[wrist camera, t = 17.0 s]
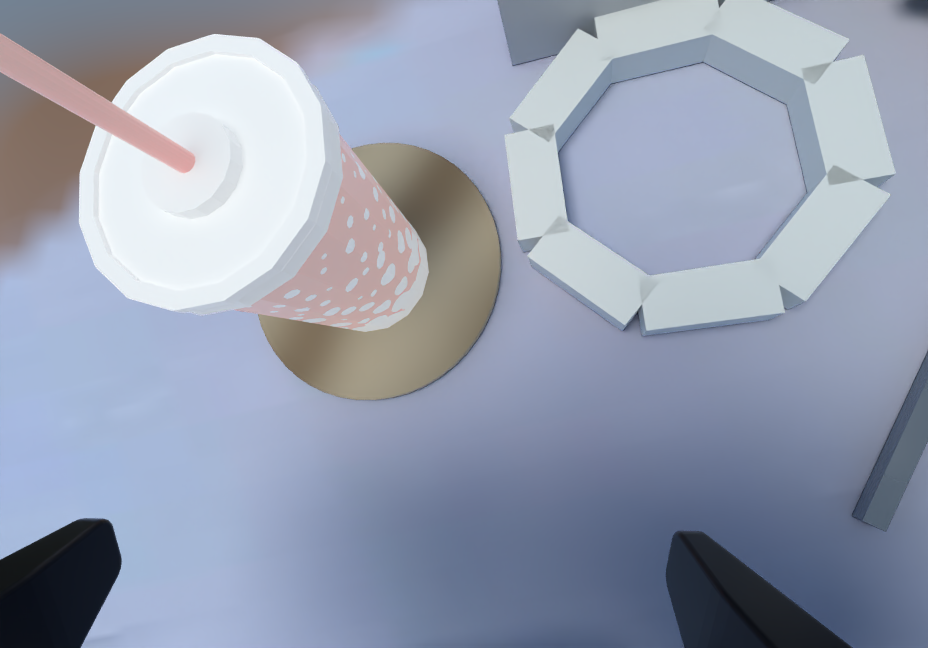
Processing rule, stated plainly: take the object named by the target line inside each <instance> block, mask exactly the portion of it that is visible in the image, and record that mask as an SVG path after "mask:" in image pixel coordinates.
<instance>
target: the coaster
mask: <svg viewBox="0 0 928 648" xmlns="http://www.w3.org/2000/svg"><path fill="white" fill-rule="evenodd" d="M352 151H353V152H354V153H355V154H356V156H357V157H358V158H359V159H360V161H361V162H362V163H363V165H364V166H365V167H366V168H367V170H368V171H369V172H370V173H371V175H372V176H373V177H374V178H375V180H376V181H377V182H378V184H379V185H380V186H381V187H382V189H383V190H384V191H385V192H386V194H387V195H388V196H389V197H390V199H391V200H392V201H393V203H394V204H395V205H396V206H397V208H398V209H399V210H400V211H401V213H402V214H403V215H404V216H405V218H406V219H407V220H408V222H409V223H410V224H411V225H412V227H413V228H414V229H415V231H416V232H417V234H418V236H419V238H420V239H421V241H422V243H423V245H424V246H425V248H426V253H427V262H428V270H429V273H428V277H427V280H426V284H425V288H424V291H423V295H422V297H421V298H420V299H419V301H418V302H417V303H416V305H415V306H414V308H413V309H412V310H411V312H410V313H409V314H408V315H407V316H406V317H404V318H403V319H401V320H400V321H398V322H396V323H395V324H393V325H392V326H390V327H388V328H385V329H379V330H373V331H367V332H363V331H357V330H351V329H345V328H339V327H333V326H327V325H321V324H315V323H309V322H303V321H297V320H291V319H285V318H279V317H273V316H267V315H261V314H258V316H259V320H260V323H261V326H262V329H263V331H264V333H265V336H266V338H267V340H268V342H269V344H270V345H271V347H272V349H273V350H274V352H275V353H276V355H277V356H278V357H279V359H280V360H281V361H282V362H283V363H284V365H285V366H286V367H287V368H288V369H289V370H291V371H292V372H293V373H294V374H295V375H296V376H297V377H299V378H300V379H301V380H303V381H304V382H306V383H307V384H309V385H310V386H312V387H314V388H317V389H319V390H321V391H323V392H325V393H328V394H331V395H335V396H338V397H342V398H349V399H355V400H379V399H387V398H394V397H398V396H401V395H405V394H409V393H411V392H414V391H416V390H418V389H421V388H423V387H425V386H427V385H429V384H430V383H432V382H434V381H435V380H437V379H439V378H440V377H442V376H443V375H444V374H445V373H447V372H448V371H449V370H451V369H452V368H453V367H454V366H455V365H456V364H457V363H458V362H459V361H460V360H461V359H462V358H463V357H464V356H465V355H466V354H467V353H468V352H469V350H470V349H471V348H472V346H473V345H474V344H475V342H476V341H477V340H478V338H479V336H480V335H481V333H482V331H483V329H484V328H485V326H486V324H487V322H488V320H489V317H490V315H491V312H492V310H493V308H494V304H495V301H496V297H497V293H498V290H499V282H500V275H501V251H500V243H499V236H498V233H497V229H496V226H495V222H494V219H493V217H492V215H491V212H490V210H489V208H488V206H487V204H486V202H485V200H484V199H483V197H482V195H481V194H480V192H479V191H478V189H477V187H476V186H475V185H474V184H473V183H472V182H471V180H470V179H469V178H468V177H467V176H466V175H465V174H464V173H463V172H462V171H461V170H460V169H459V168H457V167H456V166H455V165H454V164H452V163H451V162H449V161H448V160H446V159H445V158H443V157H442V156H439V155H437V154H435V153H433V152H431V151H429V150H426V149H423V148H419V147H416V146H412V145H406V144H399V143H378V144H369V145H364V146H360V147H356V148H352Z"/></svg>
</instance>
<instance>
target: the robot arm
mask: <svg viewBox="0 0 928 648" xmlns="http://www.w3.org/2000/svg"><path fill="white" fill-rule="evenodd" d="M121 560H122V559H121V554H120V550H119V547H118V543H117V540H116V536H115V532H114V529H113V526H112V524H111V523H110V521H109V520H106V519H95V518H84V519H79V520H76V521H74V522H72V523H70V524H68V525H66V526H64V527H63V528H61V529H59V530H57V531H55V532H53V533H51V534H49V535H47V536H45V537H43V538H41V539H39V540H38V541H36V542H34V543H32V544H30V545H28V546H26V547H24V548H22V549H20V550H18V551H16V552H14V553H12V554H11V555H9V556H7V557H5V558H3V559H1V560H0V648H81V646H82V644H83V642H84V640H85V638H86V636H87V634H88V632H89V630H90V629H91V627H92V625H93V623H94V621H95V619H96V617H97V615H98V613H99V611H100V609H101V607H102V606H103V604H104V602H105V600H106V598H107V596H108V594H109V592H110V590H111V588H112V586H113V584H114V583H115V581H116V579H117V577H118V574H119V572H120V569H121ZM666 582H667V587H668V591H669V594H670V598H671V602H672V605H673V609H674V612H675V616H676V620H677V623H678V627H679V630H680V634H681V637H682V641H683V645H684V648H852V647H851V646H849V645H848V644H847V643H846V642H844V641H843V640H842V639H840V638H839V637H838V636H837V635H835V634H834V633H833V632H831V631H830V630H829V629H828V628H826V627H825V626H824V625H822V624H821V623H820V622H819V621H817V620H816V619H815V618H813V617H812V616H811V615H810V614H808V613H807V612H806V611H804V610H803V609H802V608H800V607H799V606H798V605H797V604H795V603H794V602H793V601H791V600H790V599H789V598H788V597H786V596H785V595H784V594H782V593H781V592H780V591H779V590H777V589H776V588H775V587H773V586H772V585H771V584H770V583H768V582H767V581H766V580H764V579H763V578H762V577H760V576H759V575H758V574H757V573H755V572H754V571H753V570H751V569H750V568H749V567H748V566H746V565H745V564H744V563H742V562H741V561H740V560H739V559H737V558H736V557H735V556H733V555H732V554H731V553H730V552H728V551H727V550H726V549H724V548H723V547H722V546H720V545H719V544H718V543H717V542H715V541H714V540H713V539H711V538H710V537H709V536H708V535H706V534H705V533H703V532H700V531H677V532H676V533H675V534H674V535H673V538H672V542H671V547H670V552H669V557H668V562H667V567H666Z"/></svg>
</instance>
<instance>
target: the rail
mask: <svg viewBox="0 0 928 648" xmlns="http://www.w3.org/2000/svg"><path fill="white" fill-rule="evenodd" d="M927 442H928V353H927V355H926V357H925V360H924V362H923V364H922V366H921V368H920V370H919V372H918V375H917V377H916V379H915V381H914V383H913V385H912V388H911V390H910V392H909V394H908V396H907V398H906V400H905V403H904V405H903V407H902V409H901V411H900V413H899V416H898V418H897V420H896V422H895V424H894V426H893V429H892V431H891V433H890V435H889V437H888V439H887V441H886V444H885V446H884V448H883V450H882V452H881V454H880V457H879V459H878V461H877V463H876V465H875V467H874V469H873V472H872V474H871V476H870V478H869V480H868V482H867V485H866V487H865V489H864V491H863V493H862V495H861V497H860V500H859V502H858V504H857V506H856V508H855V510H854V513H853V515H852V516H853V517H856V518H858V519H860V520H862V521H864V522H866V523H868V524H870V525H872V526H874V527H876V528H879V529H881V530H883V531H885V532H886V531H887V528H888V526H889V524H890V522H891V520H892V518H893V515H894V513H895V511H896V509H897V507H898V505H899V502H900V500H901V498H902V496H903V494H904V492H905V489H906V487H907V485H908V483H909V481H910V479H911V476H912V474H913V472H914V470H915V468H916V466H917V463H918V461H919V459H920V457H921V455H922V453H923V450H924V448H925V446H926V444H927Z"/></svg>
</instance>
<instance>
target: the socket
mask: <svg viewBox="0 0 928 648" xmlns="http://www.w3.org/2000/svg"><path fill="white" fill-rule="evenodd" d="M497 1H498V5H499V9H500V14H501V18H502V22H503V27H504V31H505V35H506V40H507V44H508V48H509V53H510V57H511V61H512V65H516V64H520V63H524V62H528V61H532V60H536V59H540V58H544V57H548V56H552V55H556V54H558V55H557V56H556V58H555V59H554V60H553V62H552V63H551V64H550V66H549V67H548V68H547V69H546V71H545V72H544V73H543V75H542V76H541V77H540V79H539V80H538V81H537V83H536V84H535V85H534V86H533V88H532V89H531V90H530V92H529V93H528V94H527V96H526V97H525V98H524V100H523V101H522V102H521V103H520V105H519V106H518V107H517V109H516V110H515V111H514V113H513V114H512V115H511V117H510V122H511V125H512V129H513V132H514V133H511V134H507V135H505V143H506V151H507V159H508V167H509V175H510V183H511V191H512V199H513V207H514V215H515V223H516V231H517V239H518V242H519V244H520V247H521V249H522V251H523V252H527V251H531V252H530V253H529V254H528V256H527V257H528V259H529V261H530V264H531V266H532V267H533V268H534V269H536V270H537V271H538V272H540V273H541V274H543V275H544V276H545V277H547V278H548V279H550V280H551V281H552V282H554V283H555V284H557V285H558V286H559V287H561V288H562V289H564V290H565V291H566V292H568V293H569V294H571V295H572V296H573V297H575V298H576V299H578V300H579V301H580V302H582V303H583V304H585V305H586V306H587V307H589V308H590V309H592V310H593V311H595V312H596V313H597V314H599V315H600V316H602V317H603V318H604V319H606V320H607V321H609V322H610V323H611V324H613V325H614V326H616V327H617V328H618V329H620V330H621V331H623V330H624V329H625V327H626V326H627V325H628V324H629V322H630V321H631V320H632V319H633V317H634V316H635V315H636V313H637V312H638V315H639V321H640V327H641V333H642V336H648V335H655V334H663V333H671V332H679V331H687V330H695V329H702V328H710V327H718V326H726V325H734V324H741V323H749V322H757V321H765V320H770V319H772V318H774V317H776V316H779V315H781V314H783V313H785V310H784V308H786V309H787V310H788V309H791V308H793V307H795V306H797V305H799V304H801V303H803V302H806V301H807V299H808V298H809V297H810V296H811V294H812V293H813V292H814V291H815V289H816V288H817V287H818V286H819V284H820V283H821V282H822V281H823V279H824V278H825V277H826V276H827V274H828V273H829V272H830V271H831V269H832V268H833V267H834V266H835V264H836V263H837V262H838V261H839V259H840V258H841V257H842V256H843V254H844V253H845V252H846V250H847V249H848V248H849V247H850V245H851V244H852V243H853V242H854V240H855V239H856V238H857V237H858V235H859V234H860V233H861V232H862V230H863V229H864V228H865V227H866V225H867V224H868V223H869V222H870V220H871V219H872V218H873V217H874V215H875V214H876V213H877V212H878V210H879V209H880V208H881V207H882V205H883V204H884V203H885V202H886V200H887V199H888V198H889V197H890V195H891V194H889V193H887V192H885V191H883V190H881V189H879V188H877V187H879V186H880V185H881V184H883V183H884V182H885V181H887V180H888V179H889V178H891V177H892V176H893V175H895V174H896V173H895V169H894V165H893V162H892V158H891V154H890V150H889V147H888V143H887V139H886V135H885V132H884V128H883V124H882V121H881V117H880V113H879V109H878V106H877V102H876V98H875V94H874V91H873V87H872V83H871V79H870V76H869V72H868V68H867V65H866V61H865V57H864V55H860V56H856V57H852V58H847V59H843V60H838V61H835V60H836V58H837V57H838V56H839V54H840V53H841V51H842V50H843V49H844V47H845V46H846V44H847V43H848V42H849V40H850V39H848V38H846V37H844V36H841V35H839V34H837V33H835V32H833V31H830V30H828V29H826V28H824V27H822V26H819V25H817V24H815V23H813V22H811V21H808V20H806V19H804V18H802V17H800V16H797V15H795V14H793V13H791V12H789V11H786V10H784V9H782V8H780V7H778V6H776V5H773V4H771V3H769V2H767V1H770V0H497ZM701 62H704V63H706V64H708V65H710V66H712V67H714V68H716V69H718V70H720V71H722V72H724V73H726V74H728V75H730V76H732V77H734V78H736V79H738V80H740V81H742V82H743V83H745V84H747V85H749V86H751V87H753V88H755V89H757V90H759V91H761V92H763V93H765V94H767V95H769V96H771V97H773V98H775V99H777V100H779V101H781V102H783V103H785V104H787V108H788V112H789V116H790V121H791V125H792V129H793V133H794V138H795V142H796V146H797V150H798V155H799V159H800V163H801V168H802V172H803V176H804V180H805V185H806V189H807V194H806V195H805V197H804V198H803V199H802V200H801V202H800V203H799V204H798V205H797V207H796V208H795V209H794V210H793V212H792V213H791V214H790V215H789V217H788V218H787V219H786V220H785V222H784V223H783V224H782V226H781V227H780V228H779V229H778V231H777V232H776V233H775V234H774V236H773V237H772V238H771V239H770V241H769V242H768V243H767V244H766V246H765V247H764V248H763V250H762V251H761V252H760V253H759V255H758V256H757V257H756V258H755V260H748V261H741V262H735V263H728V264H722V265H715V266H709V267H702V268H696V269H689V270H682V271H676V272H669V273H663V274H656V275H650V276H649V275H648V274H646V273H645V272H643V271H642V270H640V269H639V268H637V267H636V266H634V265H633V264H631V263H630V262H628V261H627V260H625V259H624V258H622V257H621V256H619V255H618V254H616V253H615V252H613V251H612V250H610V249H609V248H607V247H606V246H604V245H603V244H601V243H600V242H598V241H597V240H595V239H594V238H592V237H591V236H589V235H588V234H586V233H585V232H583V231H582V230H580V229H579V228H577V227H576V226H574V225H573V224H571V223H570V222H568V221H567V214H566V207H565V200H564V193H563V186H562V179H561V172H560V165H559V159H558V152H559V150H560V149H561V148H562V146H563V145H564V144H565V142H566V141H567V140H568V139H569V137H570V136H571V135H572V133H573V132H574V131H575V130H576V128H577V127H578V126H579V124H580V123H581V122H582V120H583V119H584V118H585V117H586V115H587V114H588V113H589V111H590V110H591V109H592V107H593V106H594V105H595V104H596V102H597V101H598V100H599V98H600V97H601V96H602V94H603V93H604V92H605V91H606V89H607V88H608V87H609V85H610V84H611V83H616V82H620V81H624V80H628V79H633V78H637V77H641V76H646V75H650V74H654V73H658V72H663V71H667V70H671V69H675V68H680V67H684V66H688V65H692V64H697V63H701Z"/></svg>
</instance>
